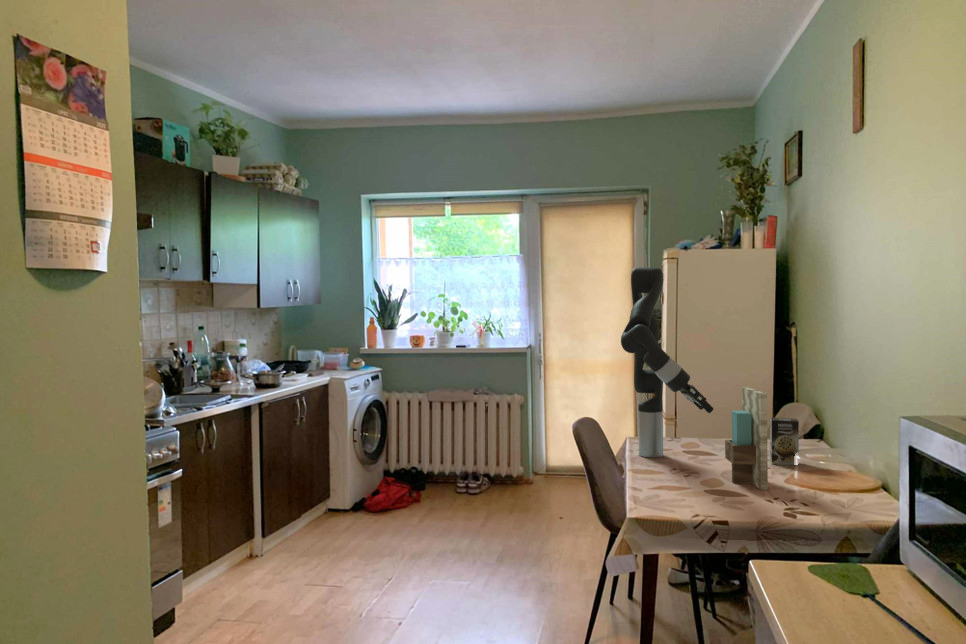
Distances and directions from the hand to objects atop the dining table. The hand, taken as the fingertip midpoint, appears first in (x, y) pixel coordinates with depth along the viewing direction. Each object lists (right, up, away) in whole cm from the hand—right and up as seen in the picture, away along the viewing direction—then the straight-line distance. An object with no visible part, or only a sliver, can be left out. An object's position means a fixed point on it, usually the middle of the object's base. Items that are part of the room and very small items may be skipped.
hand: (707, 409), depth 218 cm
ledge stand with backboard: (+11, -24, -1) cm, 26 cm away
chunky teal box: (+11, -16, -1) cm, 19 cm away
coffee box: (+36, -23, +24) cm, 49 cm away
